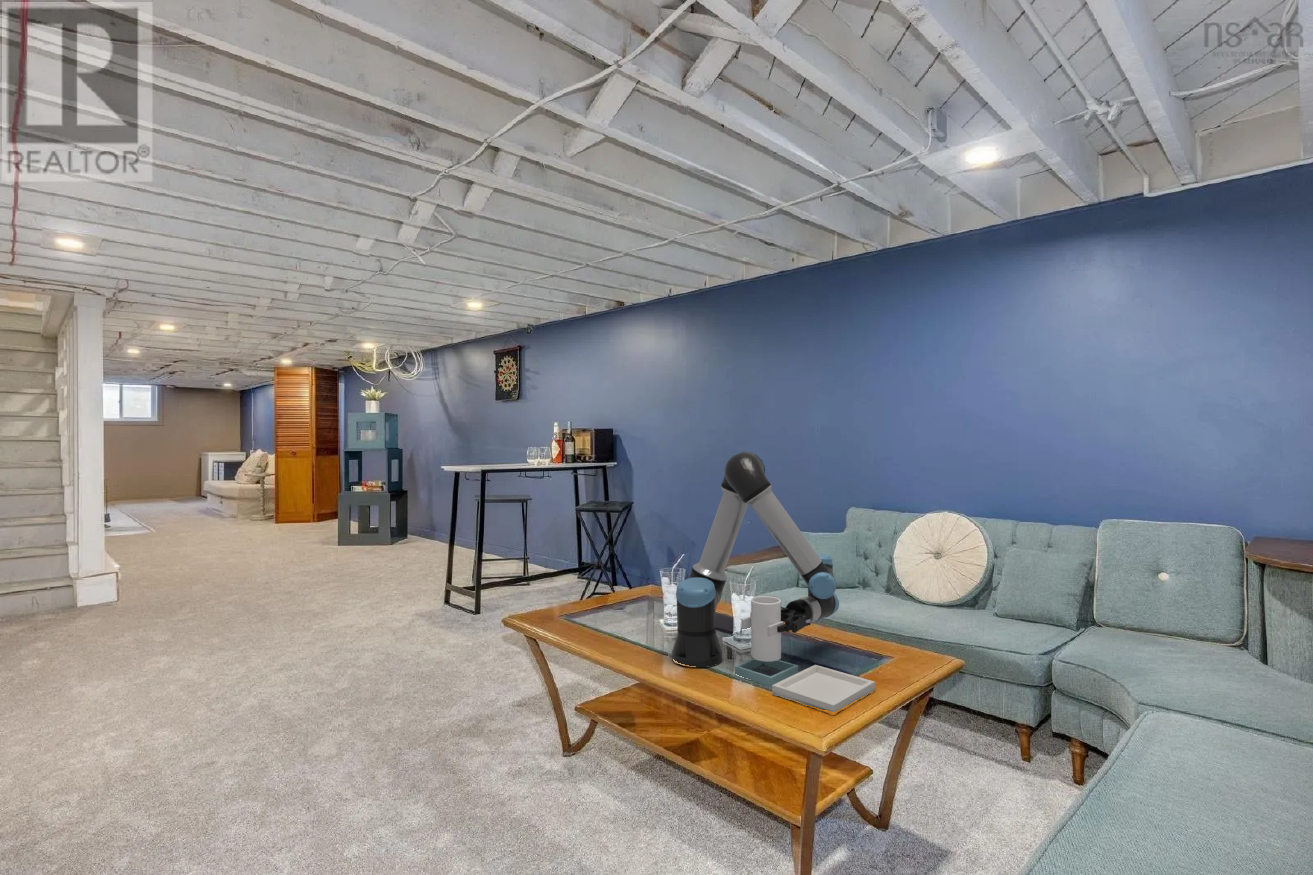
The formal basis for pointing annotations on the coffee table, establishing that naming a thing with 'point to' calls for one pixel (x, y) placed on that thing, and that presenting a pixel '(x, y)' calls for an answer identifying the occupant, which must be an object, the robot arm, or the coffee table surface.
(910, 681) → the coffee table surface
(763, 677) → the collar
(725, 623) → the dark upright panel
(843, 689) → the tray
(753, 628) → the cup
